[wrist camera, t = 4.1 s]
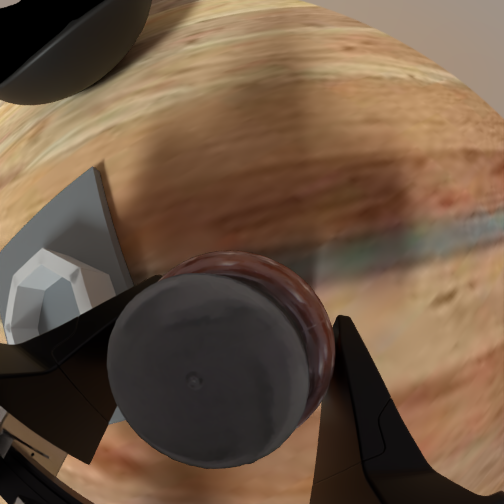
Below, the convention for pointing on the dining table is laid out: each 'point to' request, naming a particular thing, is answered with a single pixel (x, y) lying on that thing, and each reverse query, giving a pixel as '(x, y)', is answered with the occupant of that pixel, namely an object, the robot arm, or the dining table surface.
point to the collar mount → (62, 264)
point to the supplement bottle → (221, 359)
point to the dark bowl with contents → (63, 45)
